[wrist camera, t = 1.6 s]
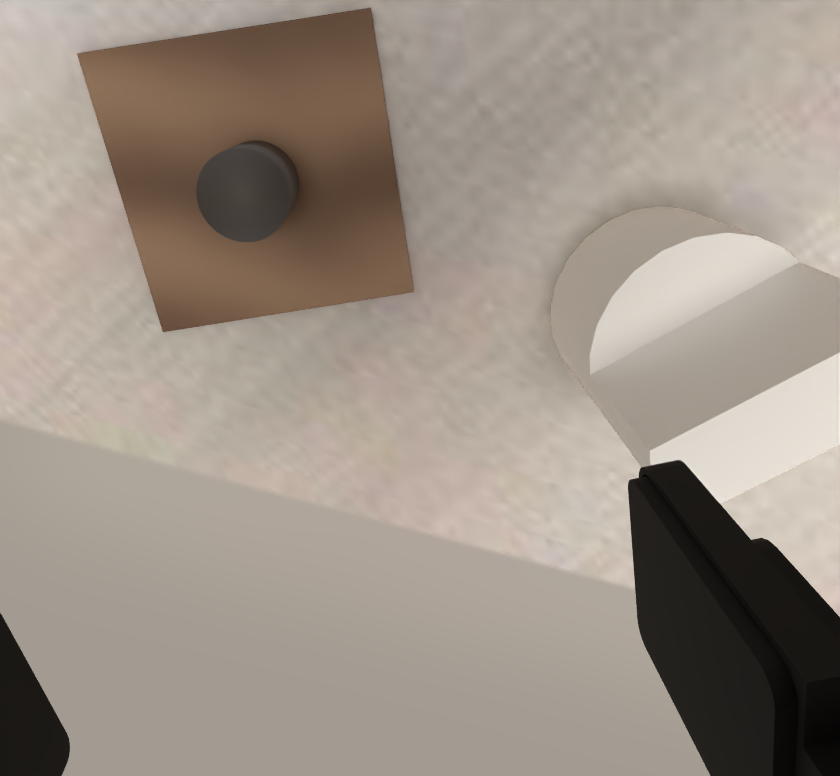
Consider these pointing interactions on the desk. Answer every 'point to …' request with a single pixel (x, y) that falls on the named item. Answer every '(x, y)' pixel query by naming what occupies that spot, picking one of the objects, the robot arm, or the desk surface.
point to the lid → (255, 167)
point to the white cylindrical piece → (703, 345)
